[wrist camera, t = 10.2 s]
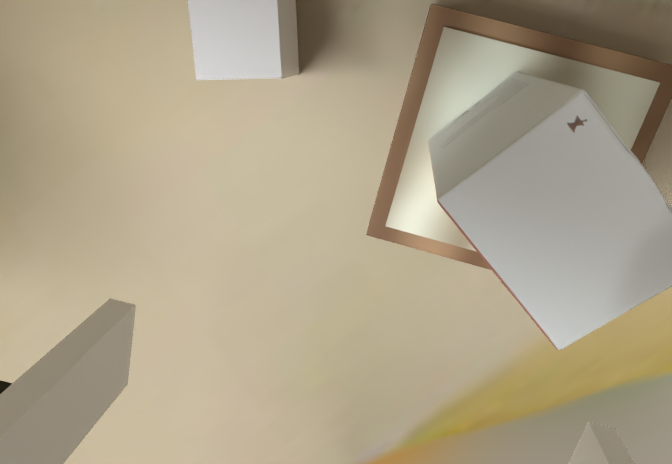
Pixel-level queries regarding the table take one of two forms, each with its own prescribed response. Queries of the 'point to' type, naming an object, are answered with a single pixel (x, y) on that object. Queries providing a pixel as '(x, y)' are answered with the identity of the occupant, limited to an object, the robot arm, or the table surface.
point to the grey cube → (244, 39)
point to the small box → (554, 205)
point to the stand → (475, 83)
